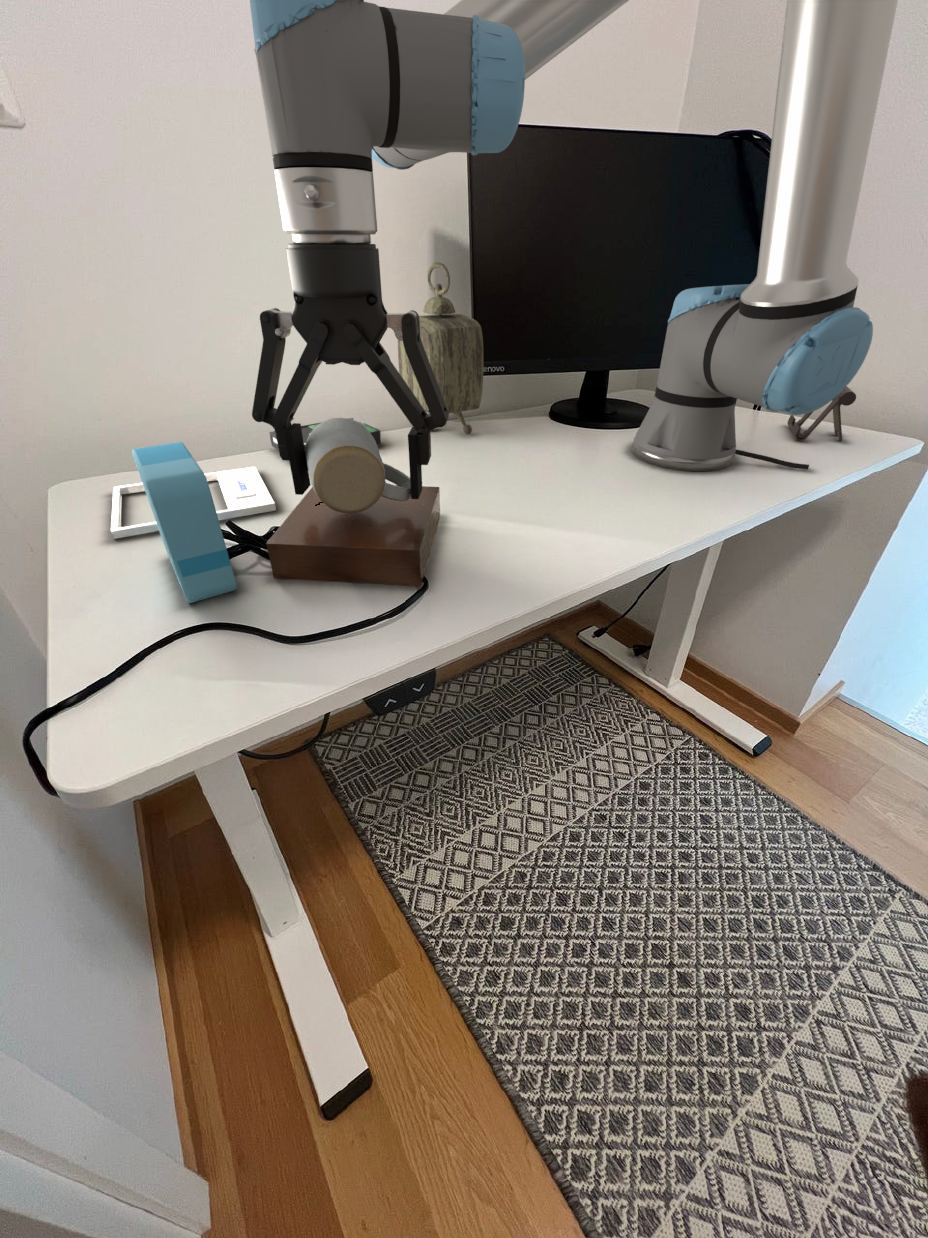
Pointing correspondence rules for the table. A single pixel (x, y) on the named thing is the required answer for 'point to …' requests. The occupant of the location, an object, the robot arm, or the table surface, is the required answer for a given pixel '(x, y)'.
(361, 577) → the walnut riser
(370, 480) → the ceramic mug
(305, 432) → the disk drive
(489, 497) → the table surface
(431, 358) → the tabletop clock
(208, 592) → the blue rounded block
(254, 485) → the photo frame
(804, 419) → the tablet stand
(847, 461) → the table surface
